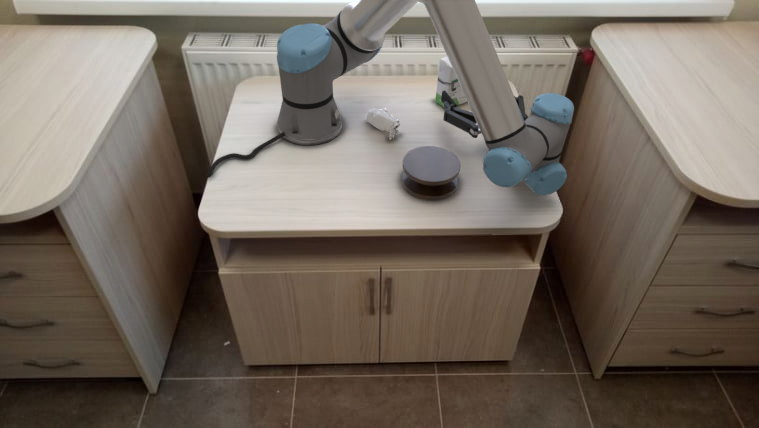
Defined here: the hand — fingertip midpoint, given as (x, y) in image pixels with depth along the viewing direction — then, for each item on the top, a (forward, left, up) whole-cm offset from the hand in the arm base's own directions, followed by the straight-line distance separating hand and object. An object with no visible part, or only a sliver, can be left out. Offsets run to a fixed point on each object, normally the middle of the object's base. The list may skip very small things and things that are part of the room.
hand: (468, 91), depth 131 cm
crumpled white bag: (-22, +1, -7) cm, 23 cm away
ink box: (0, +7, -7) cm, 10 cm away
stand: (-19, -21, -7) cm, 29 cm away
